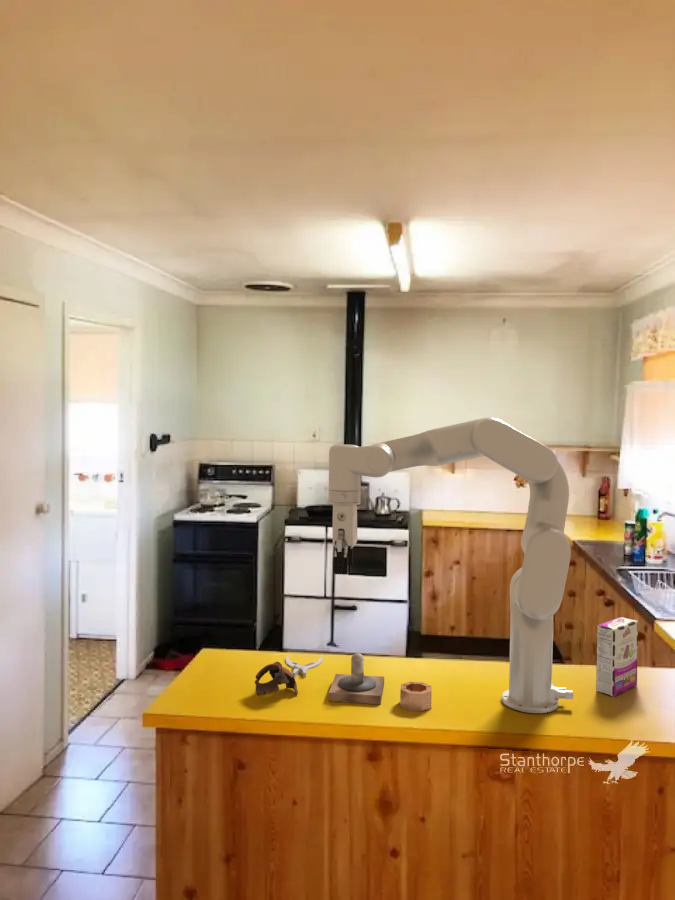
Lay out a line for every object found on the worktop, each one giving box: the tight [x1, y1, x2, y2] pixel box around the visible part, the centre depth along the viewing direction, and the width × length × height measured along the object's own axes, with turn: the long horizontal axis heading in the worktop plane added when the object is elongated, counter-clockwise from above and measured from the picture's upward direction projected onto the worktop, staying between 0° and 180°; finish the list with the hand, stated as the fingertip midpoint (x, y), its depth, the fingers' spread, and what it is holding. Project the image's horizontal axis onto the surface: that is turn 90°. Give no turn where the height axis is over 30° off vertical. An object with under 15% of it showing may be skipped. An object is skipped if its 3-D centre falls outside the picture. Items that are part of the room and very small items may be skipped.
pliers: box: [285, 654, 324, 678], centre depth 188 cm, size 10×2×15 cm
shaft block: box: [328, 652, 385, 705], centre depth 171 cm, size 12×12×10 cm
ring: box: [399, 681, 433, 712], centre depth 165 cm, size 7×7×4 cm
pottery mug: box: [254, 661, 299, 697], centre depth 171 cm, size 12×10×8 cm
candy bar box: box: [595, 616, 639, 698], centre depth 175 cm, size 11×5×16 cm, turn 129°
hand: (343, 569), depth 170 cm, fingers open, 9 cm apart
